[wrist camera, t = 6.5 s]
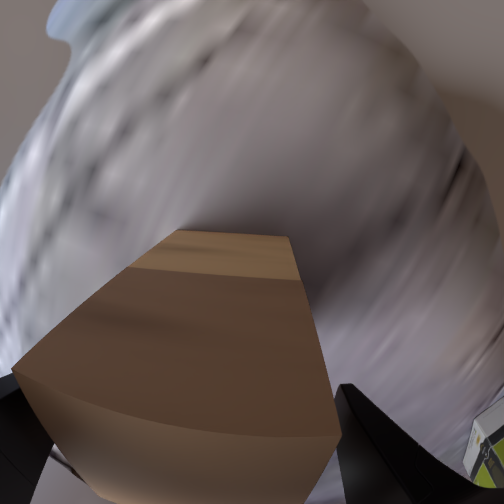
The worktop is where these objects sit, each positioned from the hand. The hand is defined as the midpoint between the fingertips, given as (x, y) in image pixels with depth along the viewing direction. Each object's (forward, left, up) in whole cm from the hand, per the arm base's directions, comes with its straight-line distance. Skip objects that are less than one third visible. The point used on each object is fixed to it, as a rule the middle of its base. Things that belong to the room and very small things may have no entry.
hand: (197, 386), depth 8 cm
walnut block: (0, 0, -2) cm, 2 cm away
